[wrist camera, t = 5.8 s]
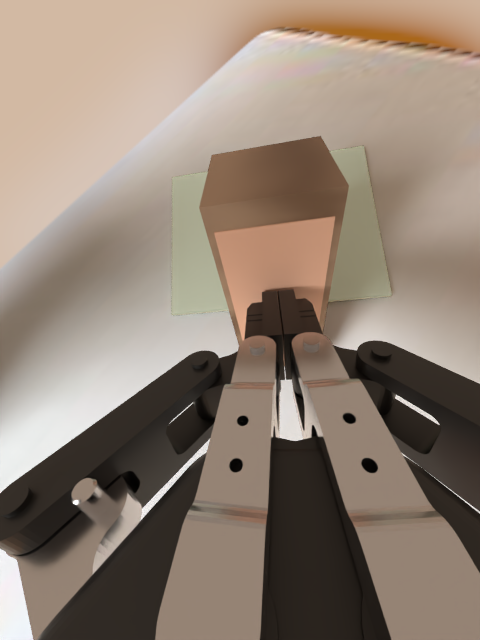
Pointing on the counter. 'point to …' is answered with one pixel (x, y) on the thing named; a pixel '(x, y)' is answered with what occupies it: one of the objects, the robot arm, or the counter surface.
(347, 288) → the mat
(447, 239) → the counter surface
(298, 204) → the walnut block
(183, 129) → the counter surface
